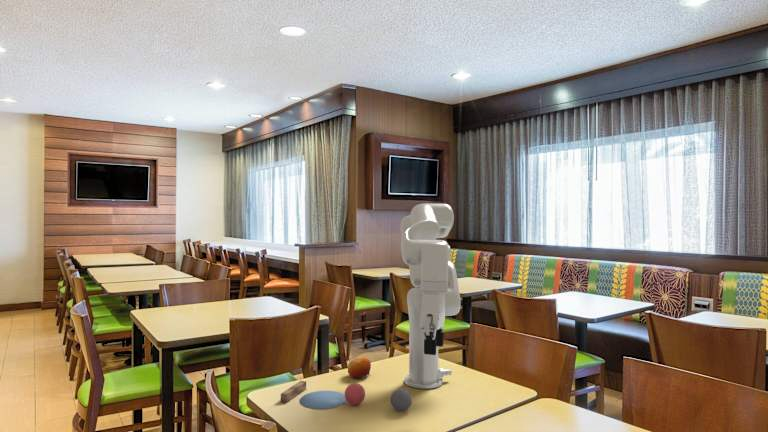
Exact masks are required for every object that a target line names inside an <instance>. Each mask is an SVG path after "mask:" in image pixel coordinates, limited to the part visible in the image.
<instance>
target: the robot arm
mask: <svg viewBox="0 0 768 432" xmlns="http://www.w3.org/2000/svg"><path fill="white" fill-rule="evenodd" d="M454 220H455V215H454V211H453V208H452V206H450V205H449V204H447V203H419V204H416V205H414V206H413V208H412V209H411V211H410V214H409V215H406V216H404V217H403V218H402V219H401V222H400V235H401V239H400V253H401V258H402V261H403V263H405V264H406V265H407V266H408V269H409V270H408V271H409V278H410V279H409V280H410V283H411V285H412V286H414V287H412V288H411V289H409V290H408V291H407V293H406V304H407V311H408V312H407V313H408V322H409V328H408V330H409V331H408V333H409V334H408V335H409V337H408V341H409V342H408V343H409V345H408V349H409V350H408V351H409V353H408V354H409V356H408V362H409V363H408V369H409V370H408V375H406V376H404V384H405V385H407V386H408V387H411V388H414V389H419V390H420V389H421V390H424V389H425V390H427V389H429V390H430V389H435V388H436V389H437V388H440V387H441V386H442V385H443V383H444V380H443V377H444V376H451V375H452V370H451V368H446V369H445V368H444V367H441V368H440V367H439V347H440V348H442V347H443V346H444V324H445V320H446V317H449V316H450V317H452V316H456V315H458V314H459V312H460V310H461V295H460V288H459V281H458V276H457V275H458V274H457V269H456V266H455V264H454V263H453V262H452V261H450V260H451V255H452V251H451V245H449V243H448V242H447V241H446V240H443V239H444V238H447V237H448V236H449V233H450V231H451V229H452V228H453V226H454ZM442 238H443V239H442Z"/></svg>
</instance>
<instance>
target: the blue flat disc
mask: <svg viewBox="0 0 768 432" xmlns="http://www.w3.org/2000/svg"><path fill="white" fill-rule="evenodd" d="M346 403H348V402H347V401H346V399H345V393H342V392H339V391H334V390H318V391H312V392H309V393H306V394H303V395H302V396H301V397H300V399H299V404H301V405H302V406H303V407H305V408H308V409H314V410H329V409H336V408H338V407H341V406H343V405H345V404H346Z"/></svg>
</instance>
